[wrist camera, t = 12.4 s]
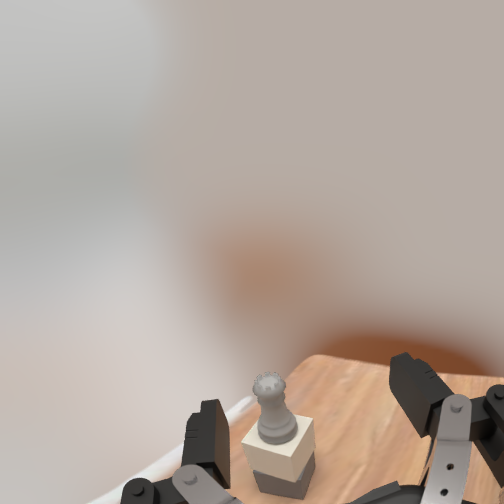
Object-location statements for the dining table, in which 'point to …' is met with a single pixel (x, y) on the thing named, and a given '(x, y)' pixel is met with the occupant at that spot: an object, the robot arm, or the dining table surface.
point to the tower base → (286, 482)
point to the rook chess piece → (273, 410)
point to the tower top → (281, 451)
